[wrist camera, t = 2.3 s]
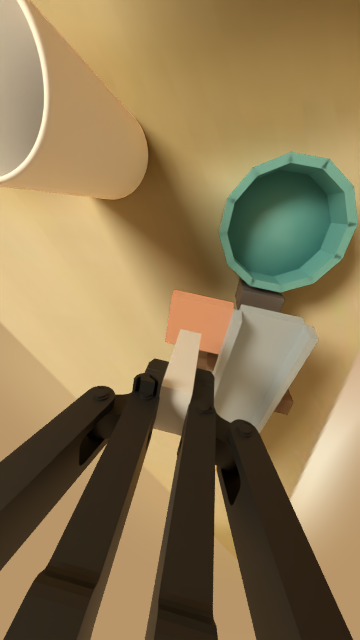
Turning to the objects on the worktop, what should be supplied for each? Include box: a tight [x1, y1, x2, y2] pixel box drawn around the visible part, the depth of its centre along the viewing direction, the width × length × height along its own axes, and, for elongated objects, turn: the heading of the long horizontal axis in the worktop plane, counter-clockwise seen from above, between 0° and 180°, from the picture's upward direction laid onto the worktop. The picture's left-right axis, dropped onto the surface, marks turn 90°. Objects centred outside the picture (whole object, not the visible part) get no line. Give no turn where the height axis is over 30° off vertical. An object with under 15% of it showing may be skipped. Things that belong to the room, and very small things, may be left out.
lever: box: [165, 290, 319, 434], centre depth 26 cm, size 20×11×4 cm, turn 169°
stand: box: [196, 279, 293, 414], centre depth 28 cm, size 19×11×8 cm, turn 169°
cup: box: [0, 0, 148, 200], centre depth 18 cm, size 8×8×16 cm
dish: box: [219, 152, 358, 293], centre depth 24 cm, size 11×11×4 cm
